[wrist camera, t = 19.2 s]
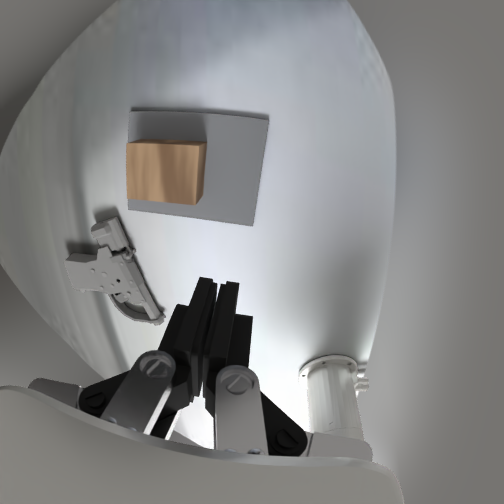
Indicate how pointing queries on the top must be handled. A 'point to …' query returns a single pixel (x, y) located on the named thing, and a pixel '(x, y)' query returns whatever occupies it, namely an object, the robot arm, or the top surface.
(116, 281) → the pistol
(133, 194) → the wooden block
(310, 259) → the top surface
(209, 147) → the rubber mat
